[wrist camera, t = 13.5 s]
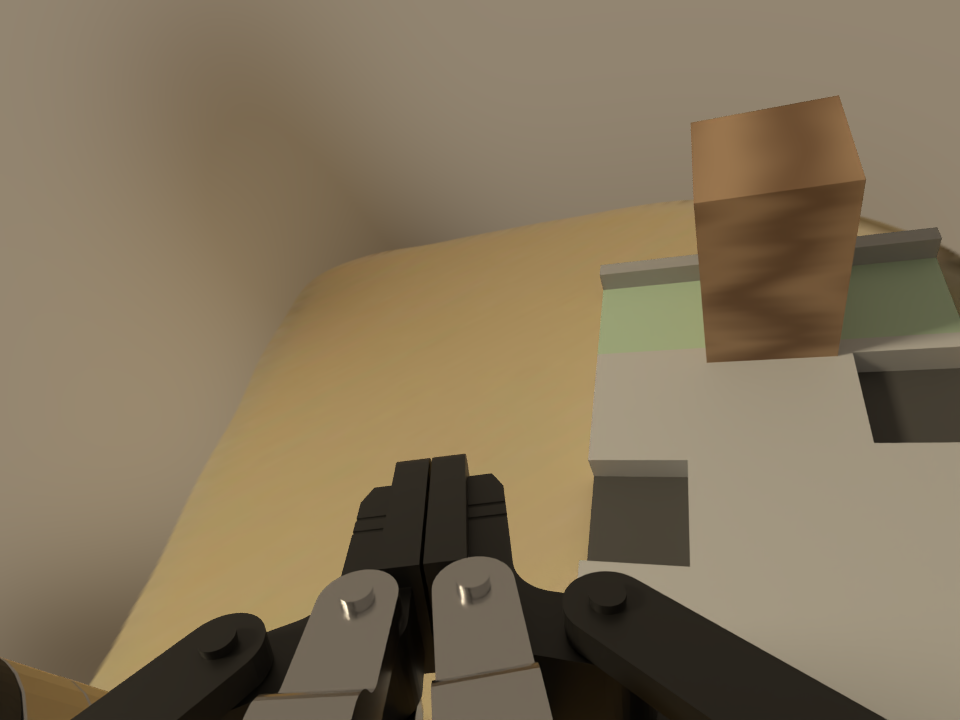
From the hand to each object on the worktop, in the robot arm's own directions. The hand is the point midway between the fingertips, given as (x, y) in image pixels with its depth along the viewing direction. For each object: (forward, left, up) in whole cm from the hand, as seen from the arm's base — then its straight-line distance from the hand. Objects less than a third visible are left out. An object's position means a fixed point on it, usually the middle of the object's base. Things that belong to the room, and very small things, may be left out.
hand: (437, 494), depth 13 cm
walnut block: (+9, +23, -20) cm, 32 cm away
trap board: (+9, +12, -23) cm, 27 cm away
